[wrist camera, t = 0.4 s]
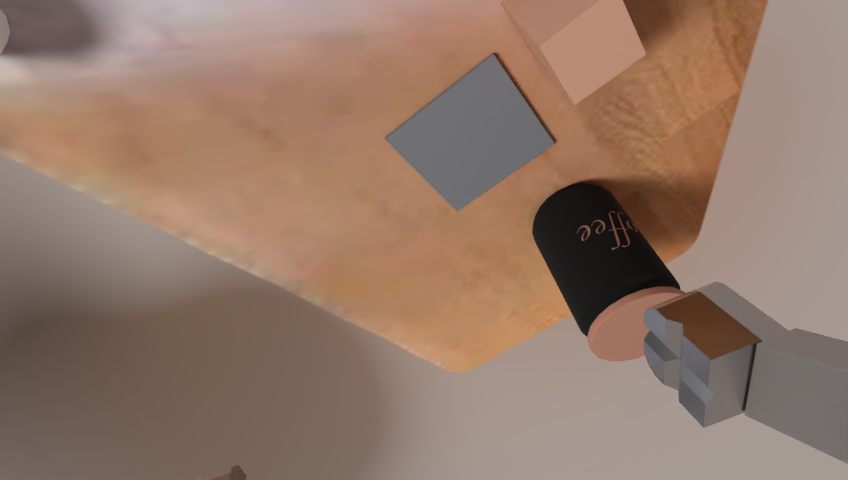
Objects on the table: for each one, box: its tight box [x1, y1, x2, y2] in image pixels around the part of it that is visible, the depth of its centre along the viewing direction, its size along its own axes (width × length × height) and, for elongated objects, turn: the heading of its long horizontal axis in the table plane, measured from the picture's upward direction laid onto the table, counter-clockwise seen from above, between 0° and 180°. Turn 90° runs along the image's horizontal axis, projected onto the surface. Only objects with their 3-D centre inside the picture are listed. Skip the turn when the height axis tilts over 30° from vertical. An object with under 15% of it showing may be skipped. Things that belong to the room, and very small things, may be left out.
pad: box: [385, 53, 555, 211], centre depth 54 cm, size 13×13×1 cm
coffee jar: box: [532, 184, 685, 361], centre depth 58 cm, size 11×11×18 cm
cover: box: [501, 0, 646, 105], centre depth 43 cm, size 6×6×10 cm
